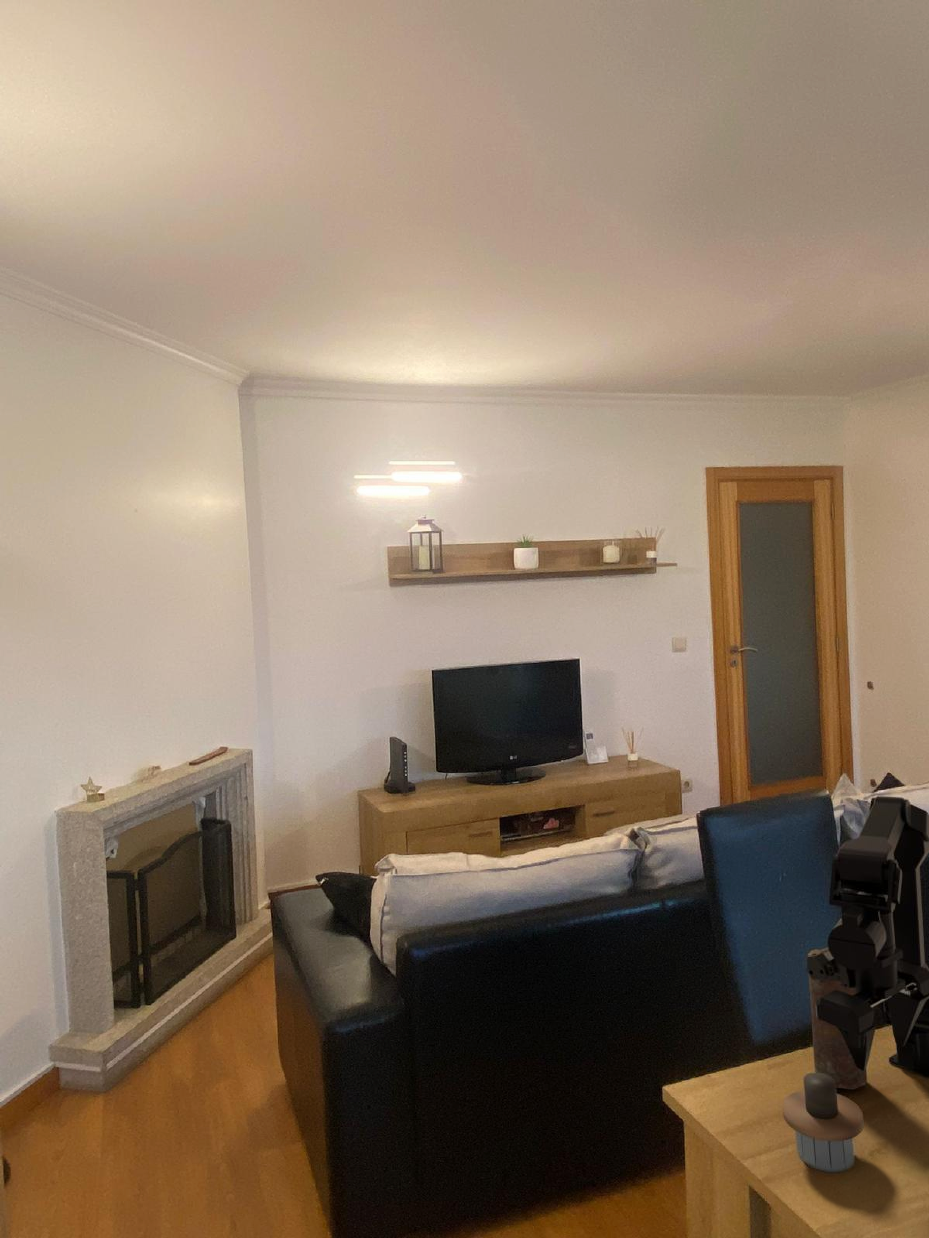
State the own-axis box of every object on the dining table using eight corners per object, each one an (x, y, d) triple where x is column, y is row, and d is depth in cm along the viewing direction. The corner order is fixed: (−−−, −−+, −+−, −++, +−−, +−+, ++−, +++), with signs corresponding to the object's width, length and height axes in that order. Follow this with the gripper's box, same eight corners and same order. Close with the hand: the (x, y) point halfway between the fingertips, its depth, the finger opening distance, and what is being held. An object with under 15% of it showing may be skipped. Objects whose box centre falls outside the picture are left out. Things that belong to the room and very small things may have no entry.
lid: (809, 1088, 120) (806, 1053, 120) (878, 1118, 112) (875, 1080, 112) (767, 1116, 114) (764, 1080, 114) (837, 1151, 106) (833, 1111, 106)
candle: (874, 1098, 125) (863, 963, 125) (821, 1096, 126) (810, 963, 126) (860, 1070, 132) (850, 943, 132) (811, 1069, 134) (800, 943, 134)
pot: (818, 1132, 118) (815, 1096, 118) (865, 1156, 112) (862, 1119, 112) (786, 1152, 114) (783, 1116, 114) (833, 1179, 108) (830, 1140, 108)
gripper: (856, 909, 126) (865, 1013, 126) (776, 944, 116) (786, 1057, 116) (931, 929, 116) (941, 1041, 116) (851, 969, 106) (861, 1092, 106)
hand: (881, 1056), depth 114 cm, fingers open, 9 cm apart
